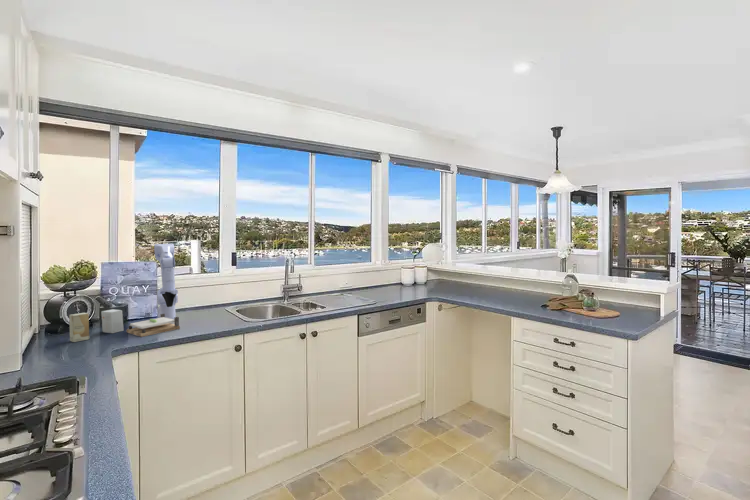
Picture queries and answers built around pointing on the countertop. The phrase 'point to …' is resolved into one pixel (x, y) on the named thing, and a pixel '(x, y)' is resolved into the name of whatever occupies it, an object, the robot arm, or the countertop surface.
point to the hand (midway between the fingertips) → (169, 306)
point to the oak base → (154, 328)
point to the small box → (112, 321)
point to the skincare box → (79, 327)
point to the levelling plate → (152, 322)
